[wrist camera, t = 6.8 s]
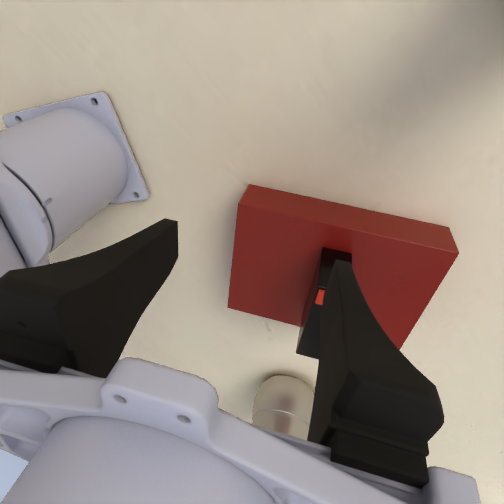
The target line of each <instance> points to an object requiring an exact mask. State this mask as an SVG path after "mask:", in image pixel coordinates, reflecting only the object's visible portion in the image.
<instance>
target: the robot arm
mask: <svg viewBox="0 0 504 504" xmlns="http://www.w3.org/2000/svg"><path fill="white" fill-rule="evenodd" d="M94 98H95V99H96V100H97V101H98V104H96V102H95V101H94ZM19 117H20V118H21V120H22V121H21V120H20V118H19ZM3 121H4V123H5V125H6V126H7V129H5V130H2V131H0V449H2V450H5V451H7V452H9V453H11V454H13V455H16V456H18V457H20V458H22V459H24V460H26V461H29V463H28V465H27V466H26V468H25V469H24V471H23V472H22V473H21V475H20V476H19V478H18V479H17V481H16V482H15V483H14V485H13V486H12V488H11V489H10V490H9V492H8V493H7V495H6V496H5V498H4V499H3V501H2V502H1V503H0V504H481V501H480V497H479V493H478V489H477V485H476V481H475V479H474V478H473V477H471V476H468V475H465V474H461V473H458V472H455V471H451V470H448V469H445V468H441V467H428V468H427V464H426V457H427V456H428V455H429V449H428V443H427V442H428V441H429V440H430V439H431V438H432V437H433V435H434V434H435V433H436V432H437V431H438V430H439V429H440V428H441V426H442V425H443V423H444V414H443V409H442V404H441V401H440V398H439V395H438V392H437V389H436V386H435V385H434V384H433V383H432V382H431V381H429V380H428V379H427V378H426V377H425V376H424V375H423V374H422V373H421V372H420V371H418V370H417V369H416V368H415V367H414V366H413V365H412V364H411V363H410V361H409V360H408V359H407V358H406V357H405V356H404V355H403V354H402V353H401V352H400V351H399V349H398V348H397V347H396V346H395V345H394V343H393V342H392V341H391V340H390V338H389V337H388V336H387V335H386V333H385V332H384V330H383V329H382V327H381V326H380V324H379V323H378V321H377V320H376V318H375V316H374V315H373V313H372V311H371V309H370V307H369V306H368V304H367V302H366V300H365V297H364V295H363V293H362V291H361V289H360V286H359V284H358V282H357V279H356V276H355V274H354V271H353V268H352V265H351V263H350V262H345V261H341V260H337V259H336V260H335V263H334V266H333V269H332V271H331V274H330V277H329V280H328V283H327V286H326V289H325V292H324V297H323V303H322V309H321V321H320V350H319V366H318V373H317V380H316V387H315V394H314V400H313V407H312V413H311V419H310V425H309V431H308V437H307V441H306V440H303V439H300V438H297V437H293V436H290V435H287V434H283V433H280V432H277V431H274V430H270V429H267V428H264V427H260V426H257V425H254V424H250V423H247V422H245V421H243V420H241V419H239V418H237V417H235V416H233V415H231V414H229V413H228V412H226V411H224V410H222V409H220V408H218V399H219V398H218V395H217V392H216V389H215V388H214V387H213V386H212V385H211V384H210V383H209V382H208V381H207V380H205V379H203V378H200V377H198V376H196V375H193V374H190V373H186V372H183V371H180V370H176V369H173V368H169V367H166V366H163V365H159V364H156V363H152V362H149V361H145V360H142V359H138V358H130V357H127V358H123V359H121V360H118V359H119V357H120V355H121V353H122V351H123V349H124V347H125V345H126V343H127V341H128V339H129V337H130V335H131V333H132V331H133V330H134V328H135V326H136V324H137V322H138V320H139V319H140V317H141V315H142V314H143V312H144V310H145V309H146V307H147V306H148V305H149V303H150V302H151V300H152V299H153V297H154V296H155V295H156V293H157V292H158V290H159V289H160V287H161V286H162V285H163V283H164V282H165V280H166V279H167V277H168V276H169V274H170V272H171V270H172V269H173V267H174V265H175V262H176V260H177V258H178V221H174V220H169V219H163V220H161V221H159V222H157V223H155V224H153V225H151V226H149V227H148V228H146V229H144V230H142V231H140V232H138V233H136V234H134V235H132V236H130V237H128V238H126V239H124V240H122V241H120V242H118V243H115V244H113V245H111V246H109V247H106V248H104V249H101V250H98V251H96V252H93V253H90V254H87V255H84V256H80V257H77V258H73V259H70V260H66V261H62V262H57V263H53V264H49V261H48V255H49V254H50V253H51V252H52V251H53V250H54V249H55V248H57V247H58V246H59V245H60V244H61V243H63V242H64V241H65V240H66V239H67V238H68V237H70V236H71V235H72V234H73V233H74V232H76V231H77V230H78V229H79V228H80V227H81V226H83V225H84V224H85V223H86V222H87V221H88V220H90V219H91V218H92V217H93V216H94V215H96V214H97V213H98V212H99V211H100V210H101V209H103V208H104V207H105V206H106V205H107V204H114V203H123V202H132V201H140V200H146V199H147V198H148V197H149V191H148V188H147V186H146V184H145V181H144V179H143V177H142V174H141V172H140V169H139V167H138V165H137V162H136V160H135V158H134V155H133V153H132V150H131V148H130V146H129V143H128V141H127V139H126V136H125V134H124V131H123V129H122V127H121V124H120V122H119V120H118V117H117V115H116V113H115V110H114V108H113V105H112V103H111V101H110V98H109V96H108V95H107V94H106V93H105V92H96V93H92V94H88V95H84V96H79V97H75V98H71V99H67V100H63V101H59V102H55V103H51V104H47V105H42V106H38V107H34V108H30V109H26V110H22V111H18V112H14V113H9V114H6V115H4V116H3ZM136 193H138V194H139V196H138V195H136ZM425 456H426V457H425Z"/></svg>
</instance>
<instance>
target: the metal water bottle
mask: <svg viewBox="0 0 504 504" xmlns="http://www.w3.org/2000/svg"><path fill="white" fill-rule="evenodd" d="M313 400H314V393H313V391H312V389H311V388H310V387H309V386H308V385H307V384H306V383H305V382H303V381H301V380H299V379H297V378H294V377H290V376H282V375H280V376H273V377H270V378H268V379H267V380H266V381H265V382H263V383H262V384H261V385H260V387H259V389H258V391H257V393H256V396H255V398H254V405H253V418H252V419H253V423H252V424H254V425H257V426H260V427H264V428H267V429H270V430H274V431H277V432H280V433H283V434H287V435H290V436H293V437H297V438H300V439H303V440H306V441H307V437H308V431H309V425H310V419H311V413H312V407H313Z"/></svg>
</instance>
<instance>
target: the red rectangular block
mask: <svg viewBox="0 0 504 504" xmlns="http://www.w3.org/2000/svg"><path fill="white" fill-rule="evenodd" d="M322 247H326V248H330V249H335V250H339V251H343V252H347V253H351V254H352V268H353V271H354V274H355V276H356V279H357V282H358V284H359V286H360V289H361V291H362V293H363V295H364V297H365V300H366V302H367V304H368V306H369V307H370V309H371V311H372V313H373V315H374V316H375V318H376V320H377V321H378V323H379V324H380V326H381V327H382V329H383V330H384V332H385V333H386V335H387V336H388V337H389V338H390V340H391V341H392V342H393V343H394V345H395V346H396V347H397V348H398V349H399V350H400V348H401V347H402V345H403V343H404V342H405V340H406V339H407V337H408V335H409V334H410V332H411V331H412V329H413V327H414V326H415V324H416V322H417V321H418V319H419V318H420V316H421V314H422V313H423V311H424V309H425V308H426V306H427V305H428V303H429V301H430V300H431V298H432V296H433V295H434V293H435V292H436V290H437V288H438V287H439V285H440V283H441V282H442V280H443V279H444V277H445V275H446V274H447V272H448V270H449V269H450V267H451V266H452V264H453V262H454V261H455V259H456V258H457V256H458V254H459V251H458V249H457V246H456V244H455V241H454V239H453V236H452V234H451V231H450V229H449V227H444V226H440V225H435V224H430V223H426V222H421V221H417V220H412V219H407V218H403V217H398V216H394V215H389V214H384V213H380V212H375V211H371V210H366V209H361V208H357V207H352V206H347V205H343V204H338V203H334V202H329V201H324V200H320V199H315V198H311V197H306V196H301V195H297V194H292V193H288V192H283V191H278V190H274V189H269V188H264V187H260V186H255V185H251V184H249V185H248V187H247V189H246V191H245V192H244V194H243V196H242V198H241V200H240V201H239V203H238V211H237V220H236V230H235V239H234V249H233V259H232V268H231V278H230V287H229V297H228V308H231V309H235V310H239V311H242V312H246V313H250V314H254V315H258V316H262V317H265V318H269V319H273V320H277V321H281V322H285V323H288V324H292V325H296V326H300V325H301V319H302V313H303V309H304V306H305V303H306V299H307V296H308V293H309V289H310V286H311V283H312V279H313V276H314V273H315V270H316V266H317V263H318V260H319V256H320V253H321V250H322Z"/></svg>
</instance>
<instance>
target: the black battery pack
mask: <svg viewBox="0 0 504 504" xmlns="http://www.w3.org/2000/svg"><path fill="white" fill-rule="evenodd" d="M336 259H337V260H341V261H345V262H350V263H351V265H352V254H351V253H347V252H343V251H339V250H335V249H330V248H326V247H322V250H321V253H320V256H319V260H318V263H317V266H316V270H315V273H314V276H313V279H312V283H311V286H310V289H309V293H308V296H307V299H306V303H305V306H304V309H303V313H302V319H301V325H300V331H299V337H298V343H297V349H296V353H297V354H300V355H304V356H308V357H311V358H315V359H319V350H320V321H321V309H322V303H323V297H324V292H325V289H326V286H327V283H328V280H329V277H330V274H331V271H332V269H333V266H334V263H335V260H336Z"/></svg>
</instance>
